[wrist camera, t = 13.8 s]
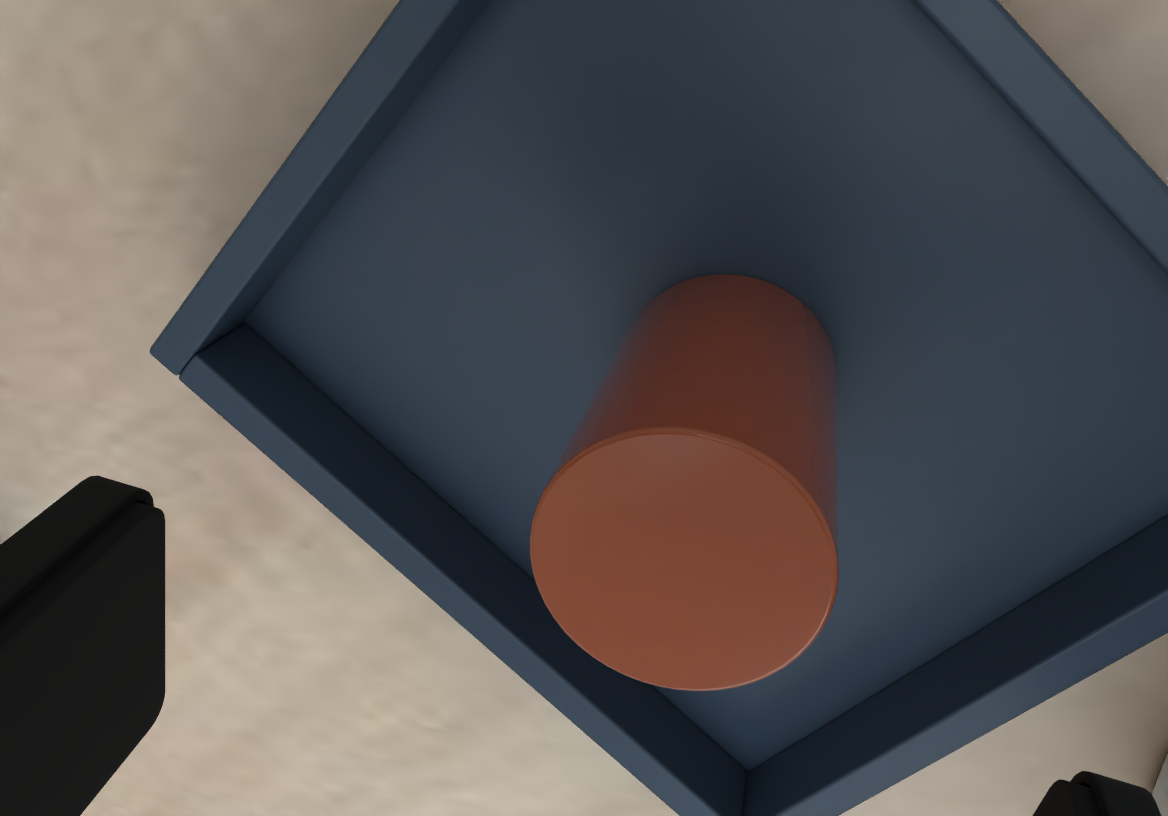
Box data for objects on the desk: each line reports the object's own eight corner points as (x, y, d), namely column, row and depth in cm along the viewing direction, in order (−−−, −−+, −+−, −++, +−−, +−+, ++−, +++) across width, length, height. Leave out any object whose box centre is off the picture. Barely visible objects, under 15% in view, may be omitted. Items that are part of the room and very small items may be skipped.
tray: (212, 312, 23) (145, 352, 21) (684, -326, 16) (661, -368, 14) (749, 790, 25) (741, 871, 23) (1367, 417, 18) (1440, 483, 16)
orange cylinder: (577, 371, 21) (468, 551, 15) (727, 226, 19) (674, 364, 13) (724, 509, 22) (680, 739, 15) (885, 383, 20) (908, 588, 13)
